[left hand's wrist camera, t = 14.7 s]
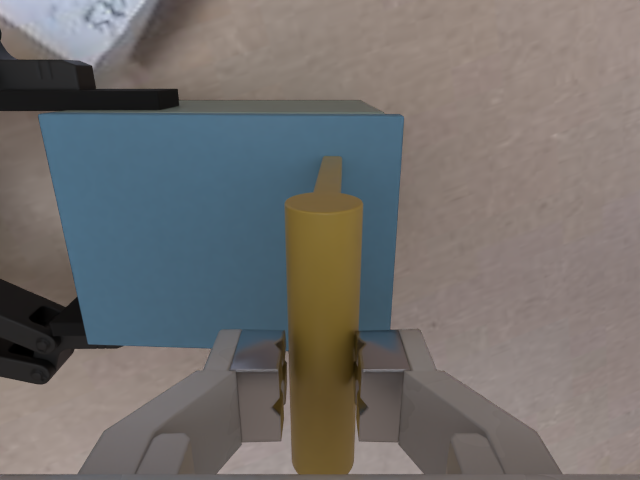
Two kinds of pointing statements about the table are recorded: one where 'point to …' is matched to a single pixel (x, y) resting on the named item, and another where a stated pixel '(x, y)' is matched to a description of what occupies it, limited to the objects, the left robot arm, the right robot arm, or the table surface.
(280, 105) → the chest
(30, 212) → the table surface
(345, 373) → the lid
